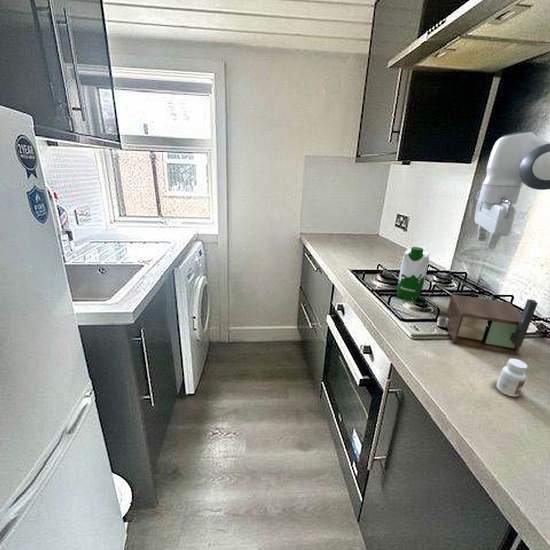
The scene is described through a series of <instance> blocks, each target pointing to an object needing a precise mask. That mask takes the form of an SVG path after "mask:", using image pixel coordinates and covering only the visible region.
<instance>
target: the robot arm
mask: <svg viewBox="0 0 550 550" xmlns="http://www.w3.org/2000/svg"><path fill="white" fill-rule="evenodd" d="M523 184H524V185H525V186H526V187H528V188H530V189H534V190H539V191H545V190H550V141H548V140H545V139H543V138H542V137H540V136H538V135H536V134H535V133H534V132H533V131H529V130H527V131H525V130H524V131H518V132H511V133H508V134H504V135H502V136H501V137H499V138H498V139H497V140H496V141H495V143H494V144H493V146H492V149H491V152H490V154H489V158H488V161H487V165H486V176H485V178H484V181H483V182H482V185H481V189H480V190H479V191H478V192H477V195H476V200H477V202H476V206H475V211H474V223H475V224H476V225H478V228H477V230H478V231H477V237H476V239H477V241H479V242H485V241H486V239H487V232H488V233H490V234H489V239H488V241H486V248H487V249H489V250H495V249H496V246H497V243H498V242H499V241H500V239H501V237H507V236H509V234H510V233H511V231H512V227H513V223H514V219H515V212H516V209H515V207H514V206H513V205H516V204H517V203H518V199H519V196H520V192H521V188H522V185H523Z"/></svg>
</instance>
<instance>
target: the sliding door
mask: <svg viewBox="0 0 550 550" xmlns="http://www.w3.org/2000/svg"><path fill="white" fill-rule="evenodd" d="M537 306H538V302H537V301H536V300H535V299H529V298H527V299H526V303H525V305H524V307H523V310H522V313H521V315H522V316H521V318H520V321H519V324H518V325H514V324H507V323H501V322H495V321H492V323H491V326H490V329H489V332H488V335H487V338H486V341H485V343H486V344H492V345H497V346H503V347H509V348H514V347H515V346H520V348H521V347H522V345H523V342H524V340H525V337H526V335H527V332H528V329H529V327H530V324H531V323H532V319H533V317H534V314H535V311H536V309H537Z"/></svg>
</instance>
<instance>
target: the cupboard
mask: <svg viewBox="0 0 550 550" xmlns="http://www.w3.org/2000/svg"><path fill="white" fill-rule="evenodd" d="M449 299H450V300H449V303H448V307H447V310H446V311H447V312H446V314H445V318H446V317H447V318H448V319H449V324H448V325H446V324H445V326H446V329H447V331H448V334H449V336H450V339H451V341H452V343H453V344H454V345H455V344H456V345H461V346H466V347H471V348H477V349H483V350H487V351H494V352H500V353H505V354H511V355H516V356H517V355H518V354H519V351H520V350H521V349H520V348H521V347H520V346H515V347H514V348H509V347H503V346H497V345H492V344H486V343H485V341H486V338H487V335H488V332H489V329H490V326H491V323H492V321H495V322H501V323H507V324H514V325H518V324H519V321H520V318H521V316H522V313H520V312H519V311H518V310H517V309H516V307H515V306H514V305H513V304H512V303H511V302H509V301H502V300H494V299H487V298H480V297H474V296H466V295H461V294H460V295H459V294H453V293H452V294H451V296H450V298H449ZM487 324H488V326H489V327H487ZM486 327H487V328H486Z"/></svg>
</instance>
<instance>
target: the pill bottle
mask: <svg viewBox="0 0 550 550" xmlns="http://www.w3.org/2000/svg"><path fill="white" fill-rule="evenodd" d="M527 369H528V364H527V363H525V362H524V361H523V360H520V359H517V358H509V359H508V360H507V362H506V365H505V366H503V367H502V369H501V371H500V375H499V377H498V380H497V383H496V388H497V390H498V391H499V392H500V393H502V394H504V395H506V396H509V397H518V396H520V394H521V391H522V389H523V387H524V384H525V382H526V379H527V374H526V373H527Z"/></svg>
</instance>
